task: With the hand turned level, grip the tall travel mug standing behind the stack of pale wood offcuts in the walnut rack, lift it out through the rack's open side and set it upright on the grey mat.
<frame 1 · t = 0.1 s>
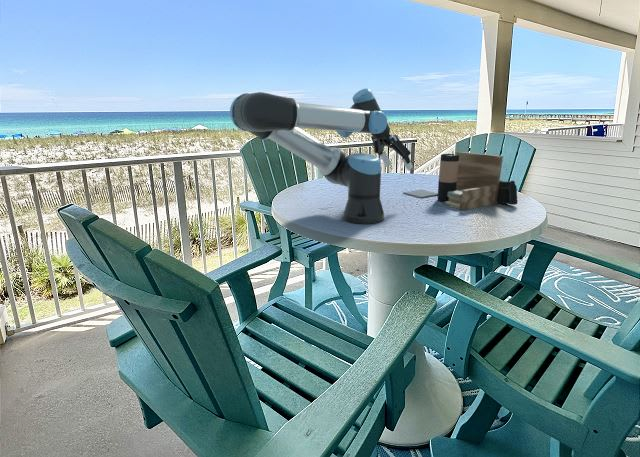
hand: (399, 166, 158), 15 cm above the table, tool tilted 35°, fingers open, 13 cm apart
offcut stack: (465, 205, 157), on the table
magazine: (489, 199, 165), on the table
grey mat: (421, 194, 176), on the table
walnut rack: (458, 201, 161), on the table
travel mug: (445, 200, 164), on the table
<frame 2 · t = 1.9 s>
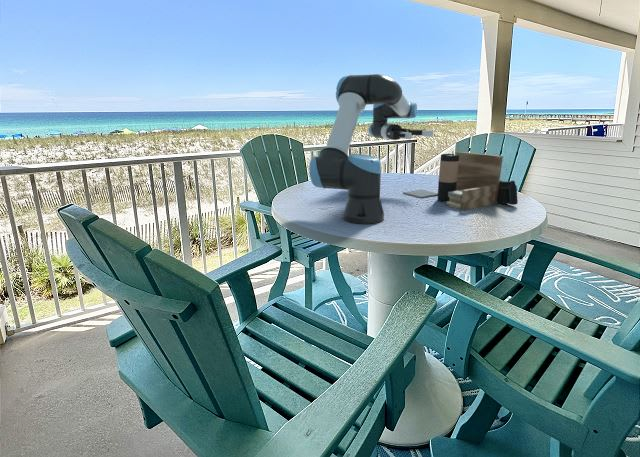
hand: (422, 134, 169), 28 cm above the table, tool horizontal, fingers open, 13 cm apart
nothing on the table moved.
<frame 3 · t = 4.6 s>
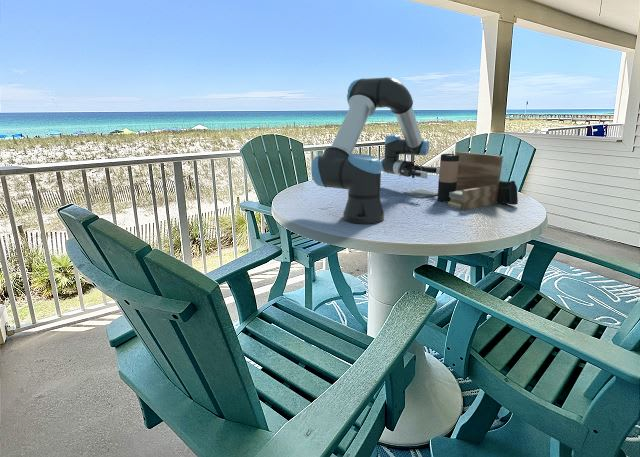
hand: (437, 173, 166), 11 cm above the table, tool horizontal, fingers open, 13 cm apart
nothing on the table moved.
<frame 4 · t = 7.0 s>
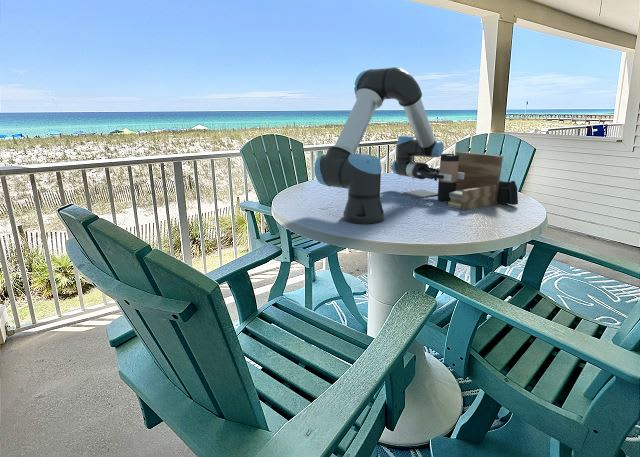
hand: (457, 177, 157), 11 cm above the table, tool horizontal, fingers closed on travel mug, 7 cm apart
travel mug: (445, 200, 164), on the table, touching gripper
everything else where it was.
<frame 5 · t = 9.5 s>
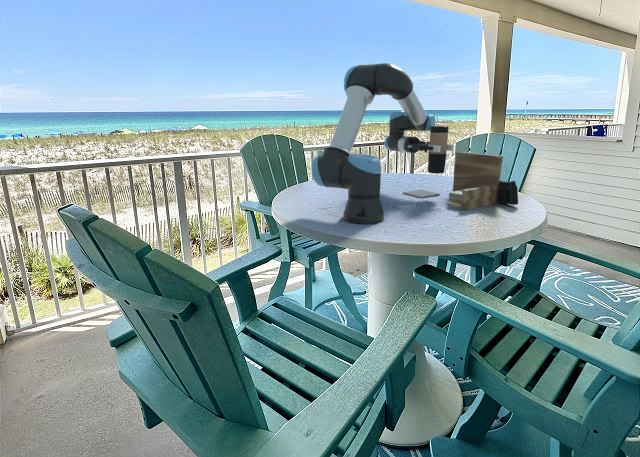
hand: (446, 148, 160), 22 cm above the table, tool horizontal, fingers closed on travel mug, 7 cm apart
travel mug: (435, 172, 167), point 11 cm above the table, touching gripper
everything else where it was.
when the fingers open (13 cm above the table, at t = 12.3 s): travel mug drops 1 cm, resting on grey mat.
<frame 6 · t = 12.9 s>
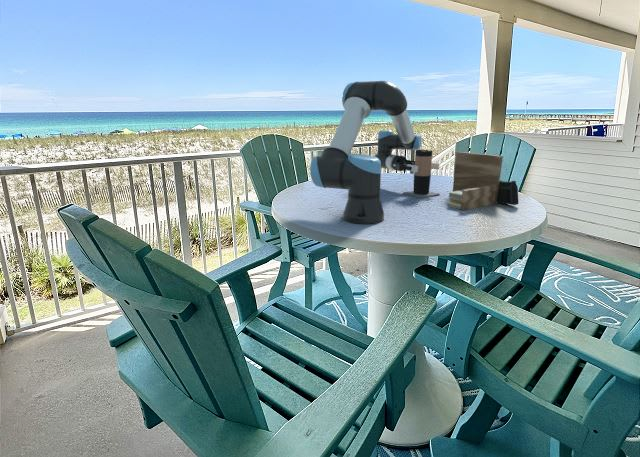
hand: (428, 167, 170), 13 cm above the table, tool horizontal, fingers open, 13 cm apart
travel mug: (421, 193, 176), resting on grey mat
everything else where it was.
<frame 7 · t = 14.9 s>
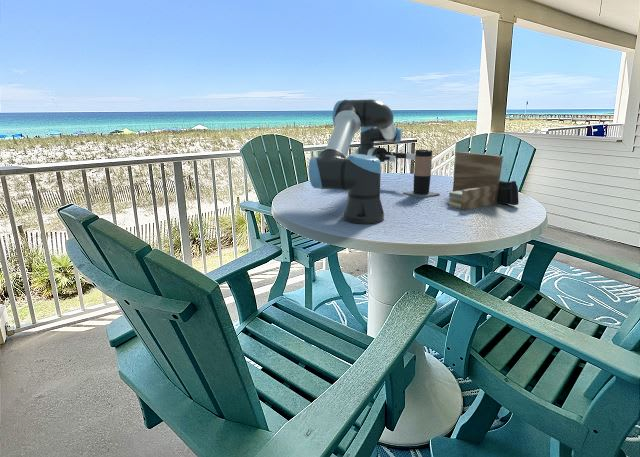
hand: (405, 158, 179), 16 cm above the table, tool horizontal, fingers open, 13 cm apart
nothing on the table moved.
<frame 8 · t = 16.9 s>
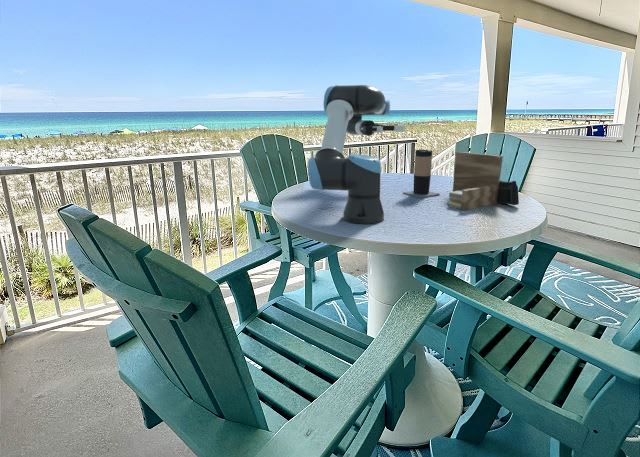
hand: (393, 129, 174), 30 cm above the table, tool horizontal, fingers open, 13 cm apart
nothing on the table moved.
at the end: travel mug inside the target area on the grey mat (0.1 cm from its centre), point 0.4 cm above the grey mat's base; travel mug tilted 0°; the gripper is holding nothing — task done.
